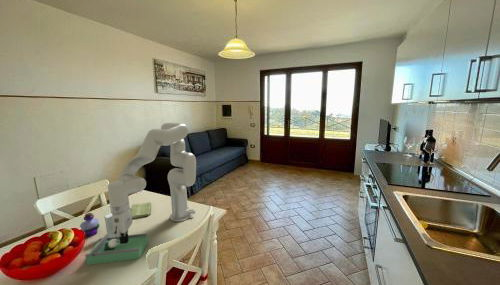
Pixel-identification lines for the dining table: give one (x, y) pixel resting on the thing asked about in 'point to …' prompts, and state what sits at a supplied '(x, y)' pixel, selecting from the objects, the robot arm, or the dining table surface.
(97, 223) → the purple rounded piece
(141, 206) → the washcloth
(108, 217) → the skincare box
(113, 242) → the ball
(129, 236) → the green
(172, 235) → the dining table surface
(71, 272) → the dining table surface
